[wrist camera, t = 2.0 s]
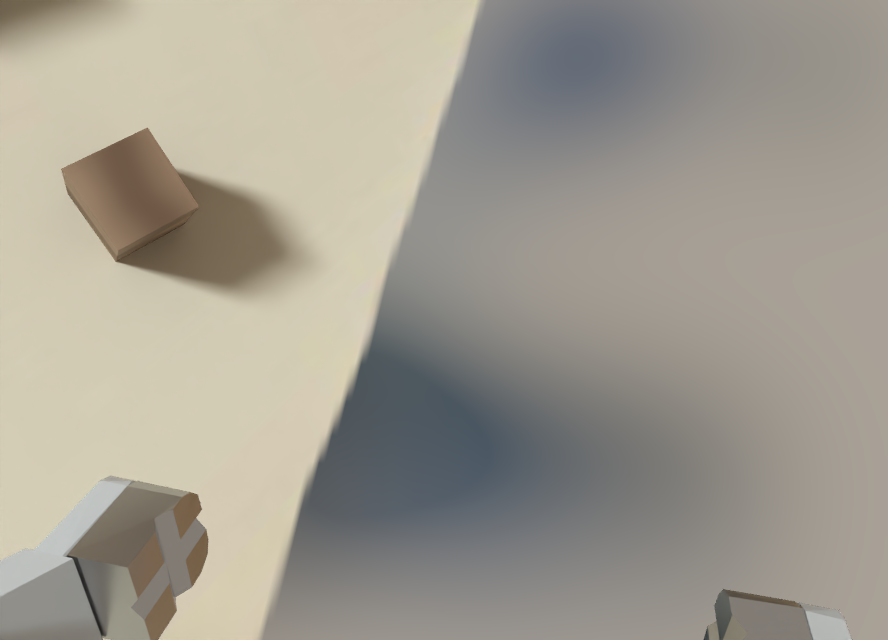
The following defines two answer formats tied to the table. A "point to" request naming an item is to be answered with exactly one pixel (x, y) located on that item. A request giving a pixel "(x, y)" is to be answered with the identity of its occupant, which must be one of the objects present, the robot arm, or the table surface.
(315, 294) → the table surface
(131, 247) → the walnut block
